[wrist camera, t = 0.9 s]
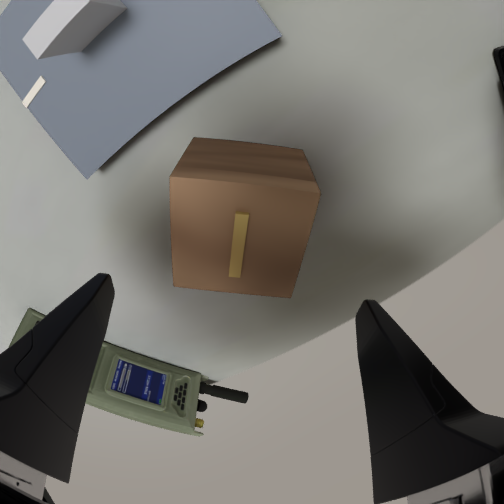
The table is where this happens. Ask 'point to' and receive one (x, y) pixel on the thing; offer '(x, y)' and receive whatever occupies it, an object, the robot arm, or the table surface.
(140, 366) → the handheld radio
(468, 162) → the table surface
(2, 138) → the table surface
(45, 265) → the table surface
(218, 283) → the taped cardboard box
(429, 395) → the robot arm
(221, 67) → the light switch plate
